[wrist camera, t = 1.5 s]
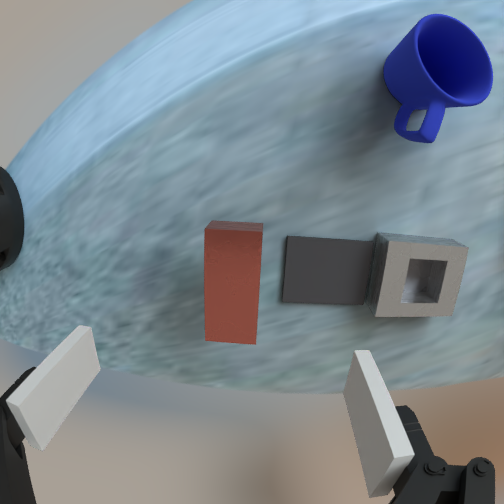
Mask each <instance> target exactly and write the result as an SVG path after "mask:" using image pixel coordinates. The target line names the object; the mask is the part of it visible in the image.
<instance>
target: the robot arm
mask: <svg viewBox="0 0 504 504" xmlns="http://www.w3.org/2000/svg"><path fill="white" fill-rule="evenodd" d="M23 235H24V216H23V208H22V203H21V199H20V196H19V193H18V190H17V187H16V185H15V183H14V181H13V179H12V178H11V176H10V175H9V174H8V173H7V171H6V170H4V169H3V168H2V167H0V270H2V269H4V268H6V267H8V266H9V265H11V264H12V263H13V262H14V261H15V260H16V258H17V256H18V254H19V252H20V249H21V246H22V242H23ZM100 370H101V369H100V365H99V361H98V357H97V353H96V348H95V343H94V339H93V334H92V329H91V327H87V326H82V325H79V326H78V327H77V328H76V329H75V330H74V331H73V332H72V333H71V334H70V335H69V336H68V337H67V338H66V339H65V340H64V341H63V342H62V343H61V344H59V345H58V346H57V347H56V348H55V349H54V350H53V351H52V353H51V354H50V355H49V356H48V357H47V358H46V359H45V360H44V361H43V362H42V363H41V364H40V365H39V366H38V367H37V368H36V367H32V368H31V369H29V370H27V371H25V372H24V373H23V374H22V375H21V376H20V378H19V379H17V380H16V381H15V384H13V385H12V386H11V387H10V388H9V389H8V390H7V391H6V392H5V393H4V394H3V395H2V396H1V398H0V504H36V500H35V496H34V493H33V488H32V484H31V480H30V475H29V470H28V465H27V460H26V454H25V448H24V445H23V443H22V441H23V439H24V438H26V440H27V441H28V443H29V444H30V446H32V447H34V448H36V449H38V450H40V451H44V449H45V448H46V446H47V445H48V443H49V442H50V440H51V439H52V437H53V436H54V434H55V433H56V431H57V430H58V429H59V427H60V426H61V424H62V423H63V421H64V420H65V418H66V417H67V415H68V414H69V413H70V411H71V410H72V408H73V407H74V406H75V404H76V403H77V401H78V400H79V399H80V397H81V396H82V394H83V393H84V392H85V390H86V389H87V387H88V386H89V385H90V383H91V382H92V380H93V379H94V378H95V376H96V375H97V373H98V372H99V371H100ZM343 394H344V398H345V401H346V405H347V409H348V413H349V417H350V420H351V424H352V428H353V432H354V436H355V440H356V444H357V448H358V452H359V456H360V460H361V464H362V468H363V472H364V477H365V481H366V486H367V489H368V494H369V498H372V497H378V496H384V495H388V493H389V492H390V491H391V490H392V488H393V489H394V493H395V496H394V497H393V499H392V500H391V501H390V503H389V504H495V469H494V465H493V464H492V463H491V461H489V460H488V459H486V458H482V457H477V458H474V459H472V460H471V461H470V462H469V463H468V464H467V466H458V465H457V466H456V465H454V466H453V465H448V464H447V463H446V462H445V460H443V459H442V458H440V457H438V456H434V454H433V452H432V450H431V447H430V445H429V443H428V441H427V439H426V436H425V434H424V432H423V430H422V428H421V426H420V424H419V423H418V419H417V417H416V415H415V413H414V412H413V411H412V410H411V409H410V408H409V407H407V406H406V405H405V406H396V407H395V406H394V404H393V402H392V399H391V397H390V394H389V392H388V390H387V388H386V385H385V383H384V381H383V379H382V377H381V374H380V372H379V370H378V368H377V366H376V364H375V361H374V359H373V357H372V355H371V353H370V351H369V350H354V354H353V358H352V362H351V366H350V370H349V374H348V378H347V381H346V385H345V389H344V392H343Z"/></svg>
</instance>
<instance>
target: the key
mask: <svg viewBox="0 0 504 504" xmlns="http://www.w3.org/2000/svg"><path fill="white" fill-rule="evenodd" d="M262 235H263V223H249V222H230V221H211V222H210V223H209V224H208V225H207V227H206V228H205V240H204V293H205V341H215V342H227V343H240V344H255V345H256V334H257V319H258V303H259V286H260V270H261V253H262Z"/></svg>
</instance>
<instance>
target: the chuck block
mask: <svg viewBox="0 0 504 504" xmlns="http://www.w3.org/2000/svg"><path fill="white" fill-rule="evenodd" d="M468 249H469V247H467V246H465V245H463V244H461V243H459V242H457V241H455V240H453V239H444V238H434V237H423V236H412V235H401V234H389V233H377V240H376V247H375V254H374V260H373V266H372V272H371V278H370V284H369V289H368V295H367V300H366V303H367V305H368V306H369V308H370V310H371V311H372V313H373V314H374V316H375V317H429V316H452V314H453V310H454V307H455V303H456V300H457V296H458V292H459V289H460V285H461V281H462V276H463V272H464V268H465V263H466V259H467V254H468Z"/></svg>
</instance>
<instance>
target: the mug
mask: <svg viewBox="0 0 504 504" xmlns="http://www.w3.org/2000/svg"><path fill="white" fill-rule="evenodd" d="M384 79H385V83H386V85H387V88H388V90H389V91H390V93H391V94H392V95H393V96H394V97H395V98H396V99H397V100H398V101H399V102H400V103H402V104H403V105H402V106H401V107H400V109H399V111H398V113H397V116H396V118H395V122H394V128H395V131H396V132H397V133H398V134H399V135H400V136H402V137H403V138H405V139H408V140H411V141H415V142H423V143H432V142H434V140H435V138H436V136H437V134H438V131H439V129H440V126H441V123H442V120H443V117H444V112H445V108H449V107H464V106H474V105H477V104H480V103H481V102H483V101H484V100H485V99H486V98H487V96H488V95H489V93H490V91H491V88H492V83H493V71H492V65H491V61H490V58H489V56H488V53H487V51H486V49H485V47H484V46H483V44H482V42H481V41H480V39H479V38H478V37H477V36H476V35H475V33H474V32H473V31H472V30H471V29H470V28H468V27H467V26H466V25H465V24H463V23H462V22H460V21H459V20H457V19H455V18H453V17H450V16H447V15H443V14H432V15H428V16H425V17H423V18H422V19H421V20H420V21H419V22H418V23H417V24H416V25H415V26H414V27H413V28H412V29H411V31H410V32H409V33H408V34H407V35H406V36H405V37H404V38H403V40H402V41H401V42H400V43H399V44H398V45H397V46H396V48H395V49H394V50H393V51H392V52H391V53H390V55H389V56H388V57H387V59H386V62H385V65H384ZM415 109H418V110H426V109H428V110H427V112H426V115H425V118H424V120H423V123H422V125H421V128H420V129H419V130H418V131H406V126H407V122H408V119H409V117H410V115H411V113H412V111H413V110H415Z"/></svg>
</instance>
